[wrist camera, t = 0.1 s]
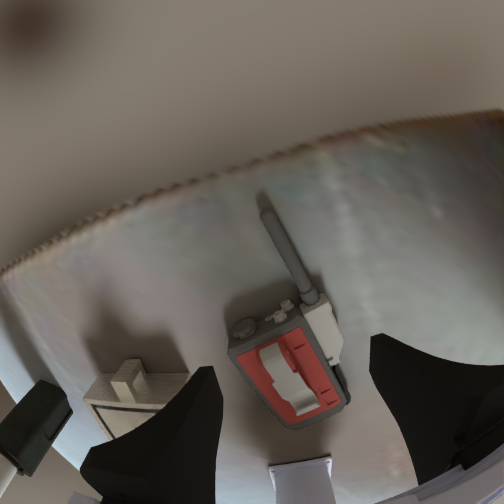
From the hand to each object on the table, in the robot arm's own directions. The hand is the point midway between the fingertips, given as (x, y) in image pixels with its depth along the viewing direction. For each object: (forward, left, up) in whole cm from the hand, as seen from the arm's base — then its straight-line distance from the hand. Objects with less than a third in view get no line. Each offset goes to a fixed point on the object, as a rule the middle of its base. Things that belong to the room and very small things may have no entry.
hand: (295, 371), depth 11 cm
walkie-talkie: (-4, 0, -11) cm, 12 cm away
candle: (-12, +30, -10) cm, 34 cm away
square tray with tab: (-12, +14, -10) cm, 21 cm away
